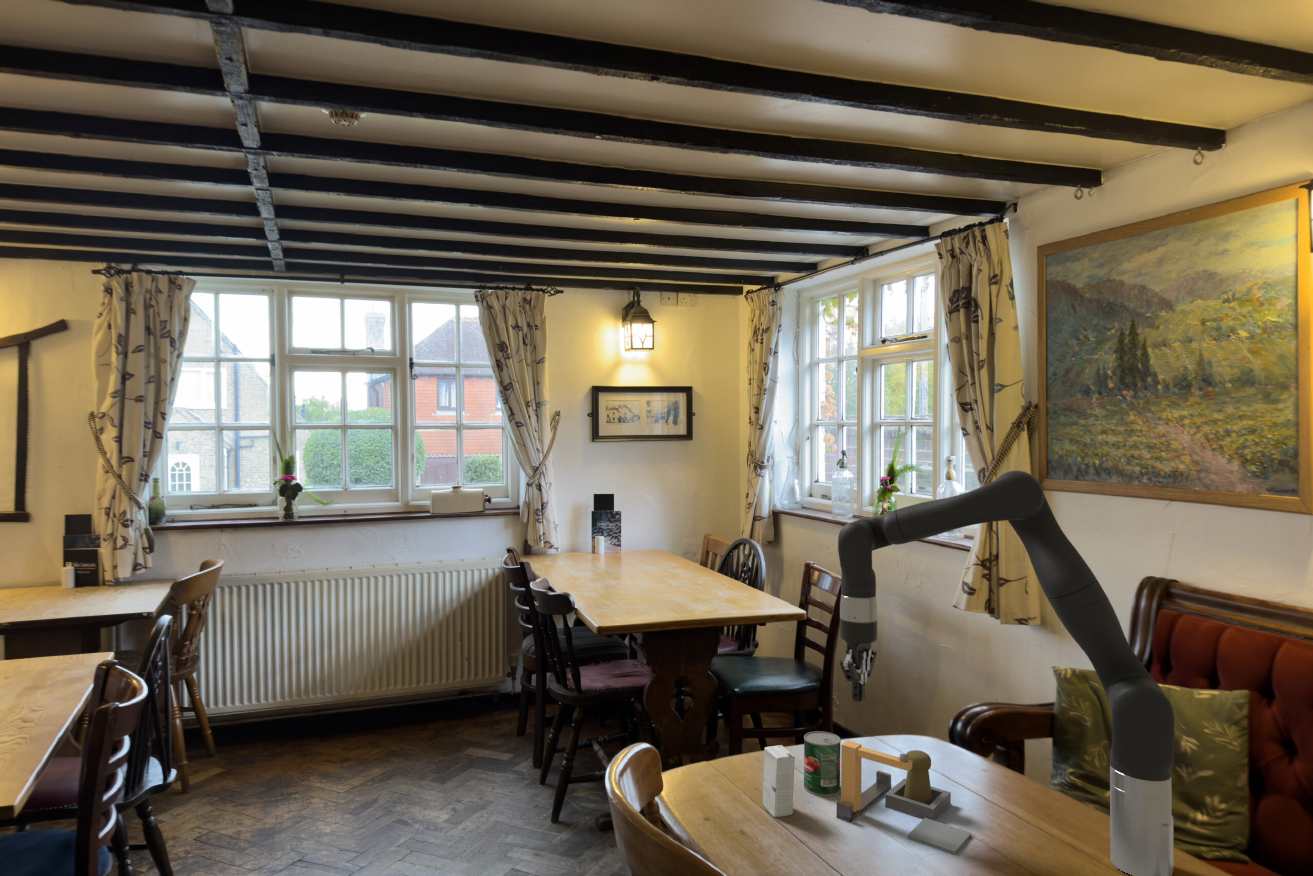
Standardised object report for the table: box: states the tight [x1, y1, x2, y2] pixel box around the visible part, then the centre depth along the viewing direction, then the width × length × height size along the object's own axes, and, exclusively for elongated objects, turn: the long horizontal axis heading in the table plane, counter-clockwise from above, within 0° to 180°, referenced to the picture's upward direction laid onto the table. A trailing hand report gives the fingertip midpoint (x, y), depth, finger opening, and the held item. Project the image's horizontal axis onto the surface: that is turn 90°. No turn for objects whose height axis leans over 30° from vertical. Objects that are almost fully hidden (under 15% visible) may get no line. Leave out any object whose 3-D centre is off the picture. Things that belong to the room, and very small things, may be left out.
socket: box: [884, 778, 952, 821], centre depth 157 cm, size 10×10×2 cm
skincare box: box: [762, 744, 796, 818], centre depth 154 cm, size 6×4×12 cm
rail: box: [836, 770, 892, 823], centre depth 158 cm, size 3×20×3 cm, turn 140°
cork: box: [904, 749, 933, 805], centre depth 157 cm, size 6×6×11 cm
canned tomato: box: [803, 730, 842, 797], centre depth 164 cm, size 8×8×11 cm
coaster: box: [907, 818, 972, 856], centre depth 144 cm, size 9×9×1 cm
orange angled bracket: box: [840, 740, 912, 812], centre depth 150 cm, size 14×3×14 cm, turn 50°
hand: (858, 700), depth 156 cm, fingers closed
